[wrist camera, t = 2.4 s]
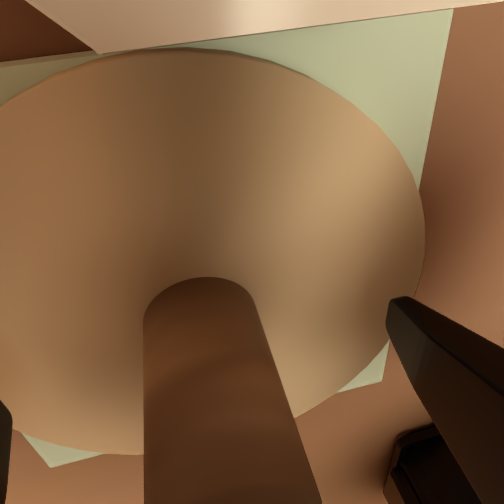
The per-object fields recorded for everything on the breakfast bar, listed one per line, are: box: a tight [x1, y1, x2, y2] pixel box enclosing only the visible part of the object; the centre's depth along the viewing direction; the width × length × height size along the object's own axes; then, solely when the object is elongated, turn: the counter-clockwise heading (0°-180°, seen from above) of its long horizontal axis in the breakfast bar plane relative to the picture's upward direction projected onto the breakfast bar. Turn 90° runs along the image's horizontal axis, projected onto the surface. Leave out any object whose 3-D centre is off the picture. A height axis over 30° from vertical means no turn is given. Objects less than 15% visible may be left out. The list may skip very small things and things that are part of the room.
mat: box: [0, 8, 454, 468], centre depth 11 cm, size 12×12×1 cm
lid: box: [0, 47, 425, 504], centre depth 8 cm, size 12×12×5 cm
